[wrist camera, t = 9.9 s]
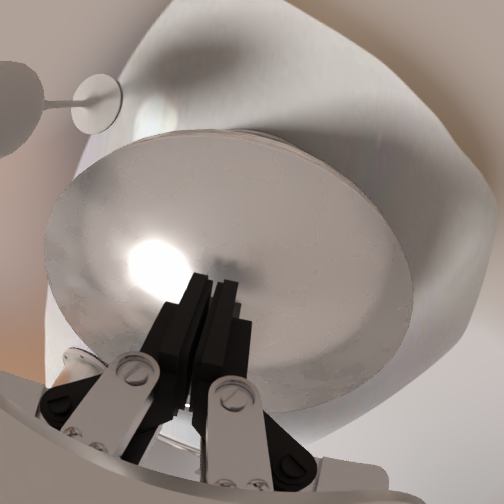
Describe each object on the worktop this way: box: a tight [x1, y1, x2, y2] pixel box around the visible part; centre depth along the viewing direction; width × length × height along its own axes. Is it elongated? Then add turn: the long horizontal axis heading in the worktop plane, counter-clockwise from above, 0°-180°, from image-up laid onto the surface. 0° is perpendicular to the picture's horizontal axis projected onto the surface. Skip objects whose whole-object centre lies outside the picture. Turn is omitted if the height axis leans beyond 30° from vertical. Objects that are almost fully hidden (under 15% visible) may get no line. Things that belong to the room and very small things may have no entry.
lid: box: [44, 129, 413, 413], centre depth 16 cm, size 25×23×4 cm
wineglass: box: [0, 61, 121, 158], centre depth 14 cm, size 8×8×21 cm
